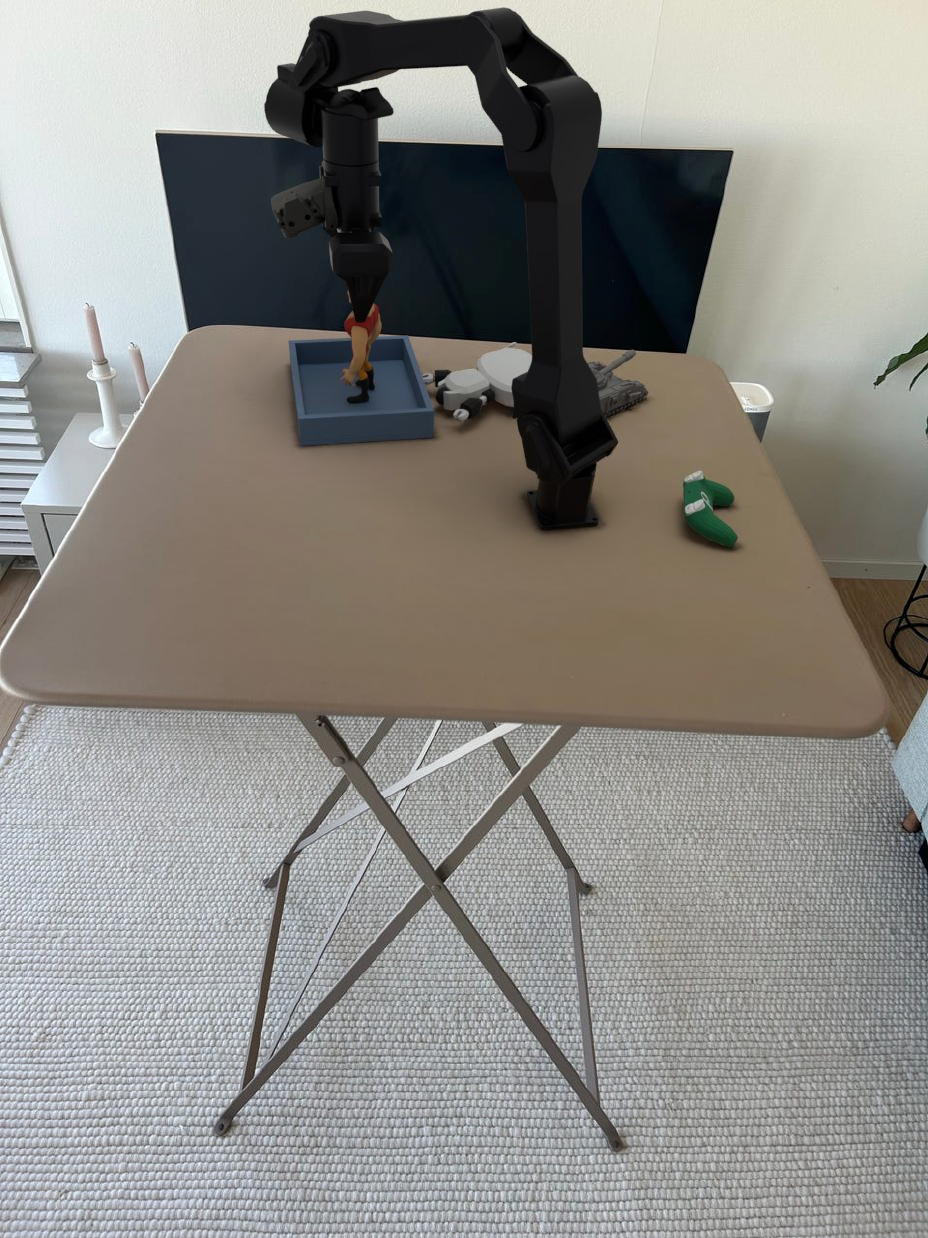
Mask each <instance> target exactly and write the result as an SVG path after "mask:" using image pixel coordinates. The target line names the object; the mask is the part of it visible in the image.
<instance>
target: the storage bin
mask: <svg viewBox="0 0 928 1238" xmlns="http://www.w3.org/2000/svg"><path fill="white" fill-rule="evenodd" d="M288 352H289V362H290V371H291V379H292V389H293V396H294V405H295V413H296V419H297V427H298V436H299V443H300V447H305V446H321V445H322V446H323V445H339V444H353V443H367V442H383V441H384V442H385V441H399V440H401V441H402V440H416V439H432V438H434V428H435V427H434V426H435V410H434V406H433V403H432V400H431V398H430V395H429V392H428V389H427V386H426V384H425V383H424V380H423V377H422V375H423V374H422V372H421V368H420V366H419V363H418V360H417V357H416V355H415V351H414V349H413V345H412V342H411V340H410V336H409V335H387V336H378V337H377V339H376V340H375V341H374V342H373V343H372V344H371V349H370V352H369V356H368V361H367V362H369V363H370V364H371V365H372V366H373V370H374V379H373V382H374V385H375V389H373V390H371V389H369V388H368V395H369V397H370V398H369V401H364V402H359V403H349V402H348V401H347V397H351V396H358V395H360V394H361V392H362V389H361V386H358V385H356V381H357V380H358V376H357V373H355V378H354V381H353V384H354V386H352V385H351V386H350V385H349V384H348V381H347V384H346V385H345V379H343V380H342V381H340V379H341V378H342V377H343V376H344V375H345V373H342V371H343V370H344V369H350V364H351V361H352V359H353V350H352V340H351V337H341V338H340V337H339V338H317V339H316V338H315V339H292V340H288ZM363 371H364V369H363Z"/></svg>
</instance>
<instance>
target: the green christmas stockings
mask: <svg viewBox="0 0 928 1238" xmlns="http://www.w3.org/2000/svg"><path fill="white" fill-rule="evenodd" d="M682 488H683V492H682V493H683V514H684V519H685V520H686V522H687V523H688V526H689V528H690V529H692V530H693V531H695V532H696V533H698V534H699V535H700V536H702V537H703V538H706V540H708V541H712V542H713V543H716V544H718V545H722V546H726V547H731V548H734V546H735V544H736V543H737V541H738V539H739V536H738V534H737V533H736V532H735V530H734V529H733V528H732V527H731V526H730V525H729V524H727V523H726V522H724V520H722V519H720V518H719V517H718V516H716V515H715V514H714V506H718V507H729V506H730V505H731V504H733V503H734V501H735V494H734V493H733V491H732V490H731V489H730V487H727V486H725V484H722V483H719V482H716V481H714V480H710V479H708V478H706V476H705V475H704V474H703V471H702V470H698V471H694V472H693V473H690V474H689V475H687V476H686V477H685V478H684V479H683V482H682ZM713 505H714V506H713Z"/></svg>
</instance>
